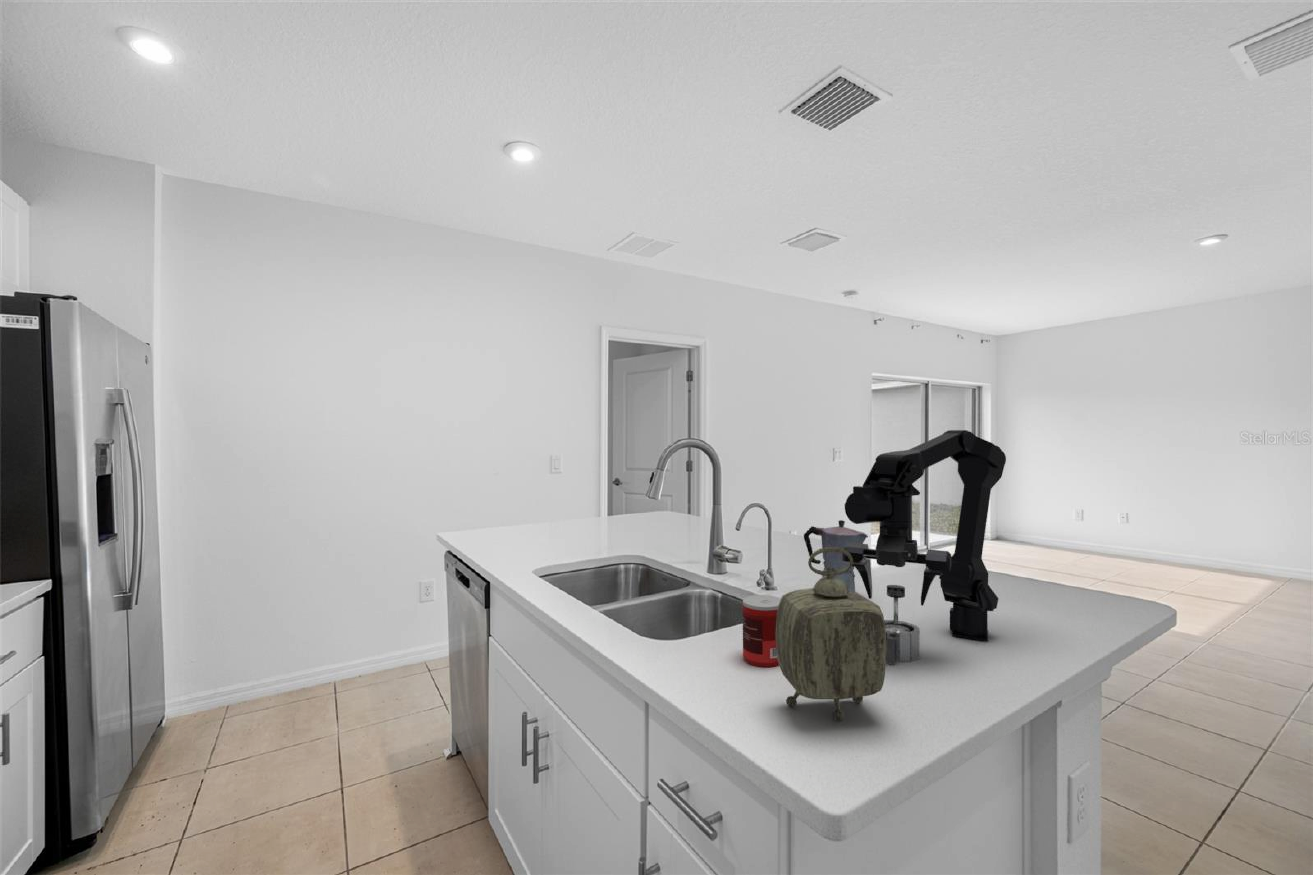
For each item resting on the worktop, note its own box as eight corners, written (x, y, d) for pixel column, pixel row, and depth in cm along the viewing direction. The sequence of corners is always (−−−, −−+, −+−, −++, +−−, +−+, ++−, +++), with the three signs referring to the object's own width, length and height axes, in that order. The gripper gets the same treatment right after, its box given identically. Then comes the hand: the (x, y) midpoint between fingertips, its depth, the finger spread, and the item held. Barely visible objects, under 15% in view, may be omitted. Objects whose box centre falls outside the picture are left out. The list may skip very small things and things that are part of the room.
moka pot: (871, 607, 140) (871, 524, 139) (804, 603, 143) (804, 522, 142) (865, 595, 149) (865, 518, 149) (803, 592, 152) (802, 516, 152)
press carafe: (921, 649, 112) (921, 624, 112) (915, 669, 103) (915, 641, 103) (877, 642, 116) (876, 617, 116) (867, 661, 107) (867, 633, 107)
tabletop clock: (863, 697, 93) (863, 540, 92) (893, 725, 84) (893, 552, 83) (775, 703, 91) (775, 543, 91) (796, 732, 82) (795, 555, 82)
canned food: (787, 654, 111) (786, 596, 111) (781, 670, 103) (781, 608, 103) (747, 649, 113) (746, 593, 113) (739, 664, 106) (738, 604, 106)
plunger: (910, 629, 112) (910, 585, 112) (907, 637, 108) (907, 591, 107) (884, 625, 114) (884, 582, 114) (880, 633, 110) (880, 588, 110)
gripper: (835, 522, 108) (836, 605, 108) (947, 530, 99) (947, 621, 99) (848, 514, 118) (848, 591, 118) (951, 521, 109) (951, 604, 109)
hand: (895, 601), depth 111 cm, fingers open, 9 cm apart
